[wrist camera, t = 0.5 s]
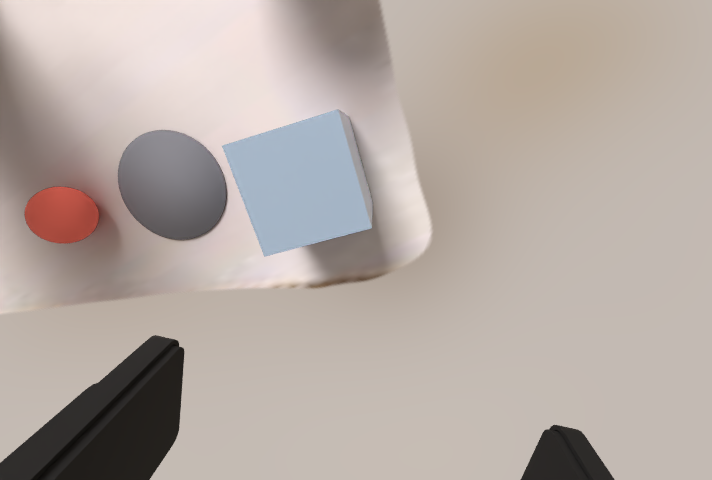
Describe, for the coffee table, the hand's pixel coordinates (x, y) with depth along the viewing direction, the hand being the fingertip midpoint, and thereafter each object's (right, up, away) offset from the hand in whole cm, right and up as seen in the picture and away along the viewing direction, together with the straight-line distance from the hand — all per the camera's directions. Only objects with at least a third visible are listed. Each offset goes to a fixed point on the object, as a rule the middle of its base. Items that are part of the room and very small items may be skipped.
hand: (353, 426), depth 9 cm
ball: (-26, +7, +22) cm, 35 cm away
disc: (-17, +10, +23) cm, 30 cm away
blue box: (-3, +11, +22) cm, 25 cm away
